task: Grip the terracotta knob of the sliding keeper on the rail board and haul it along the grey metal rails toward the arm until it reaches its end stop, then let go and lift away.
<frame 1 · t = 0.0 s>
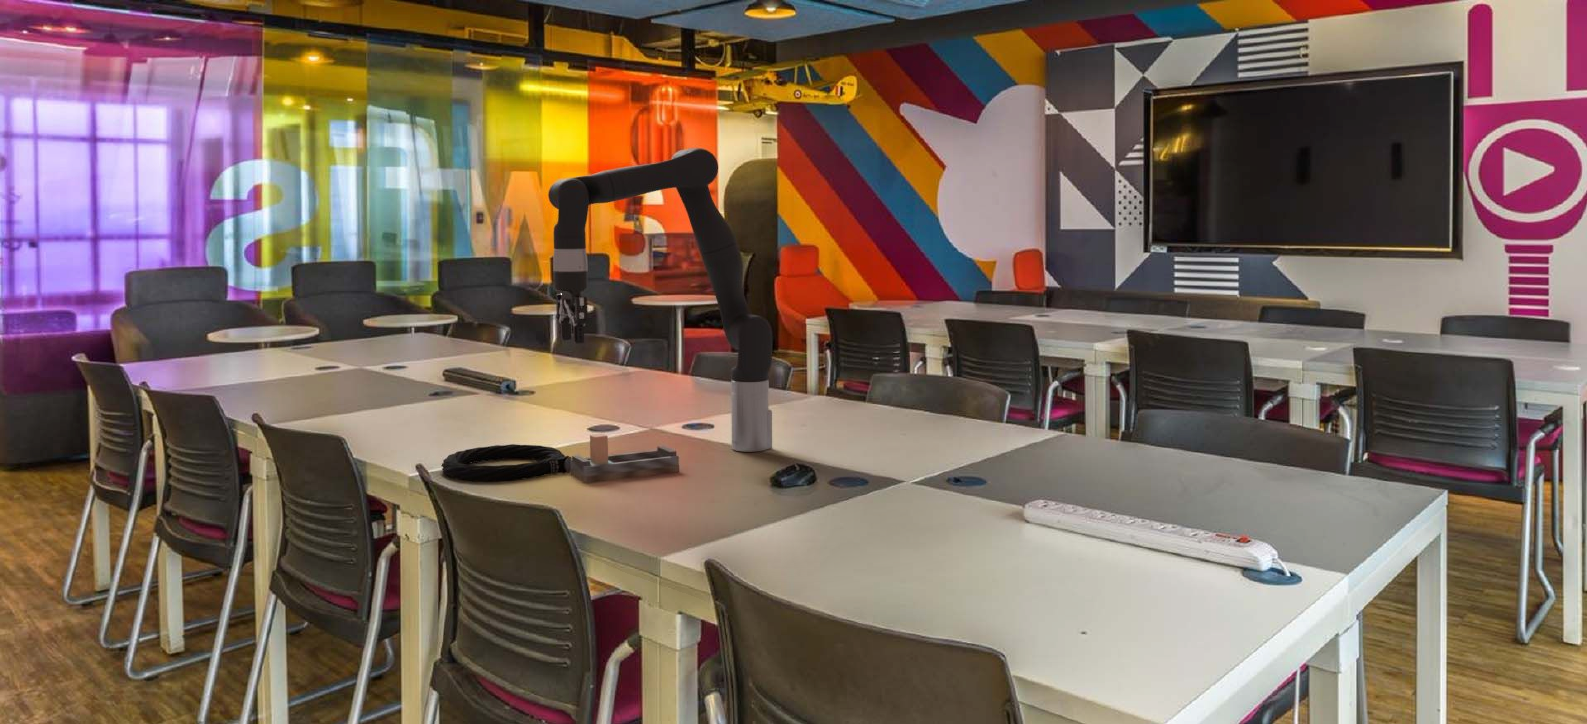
hand: (572, 341, 258), 29 cm above the table, fingers open, 8 cm apart
rail board: (625, 473, 257), on the table
keeper: (599, 452, 253), point 5 cm above the table, slide at 0.0 cm
cable lock: (509, 471, 262), on the table
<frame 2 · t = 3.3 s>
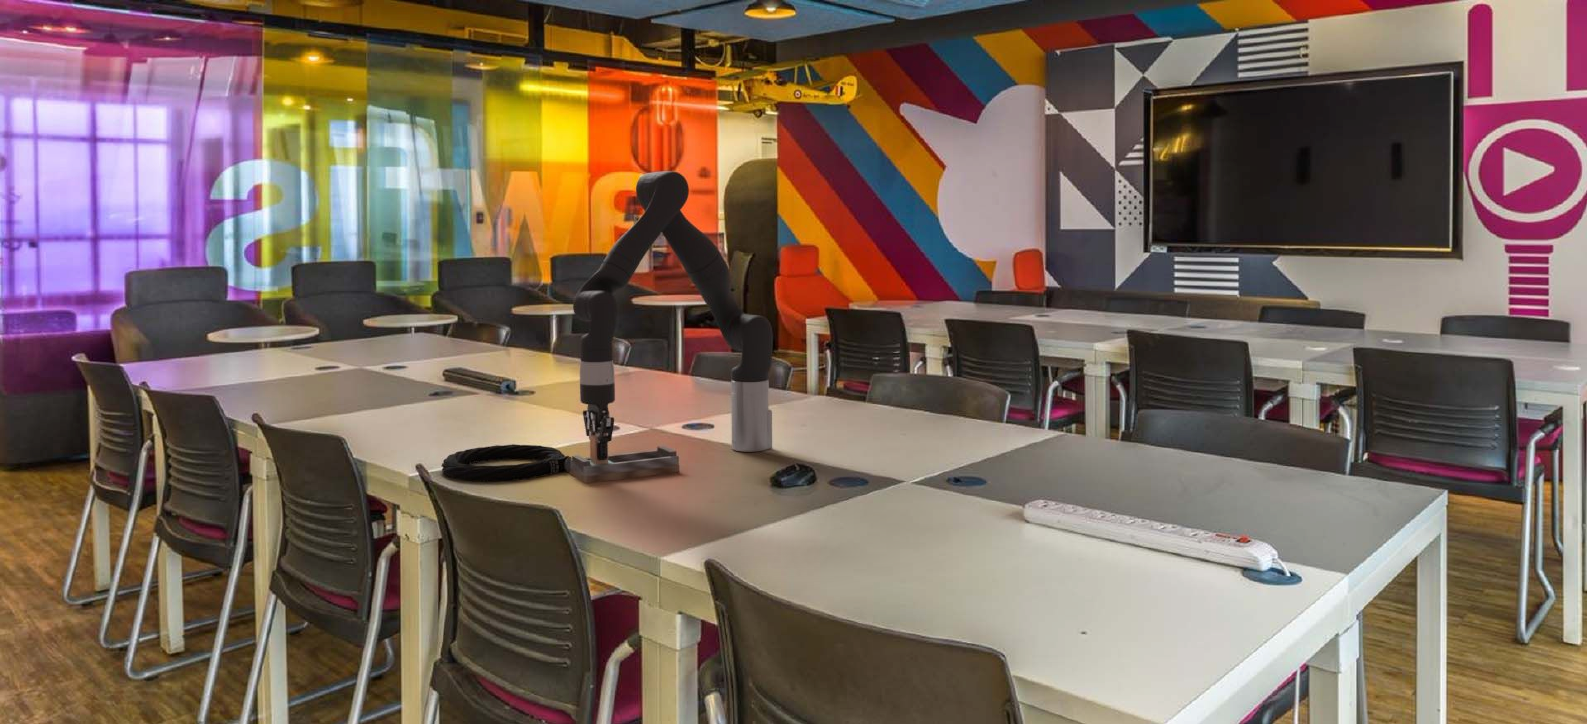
hand: (599, 458, 254), 4 cm above the table, fingers closed on keeper, 3 cm apart
keeper: (599, 452, 253), point 5 cm above the table, slide at 0.0 cm, touching gripper
everything else where it was.
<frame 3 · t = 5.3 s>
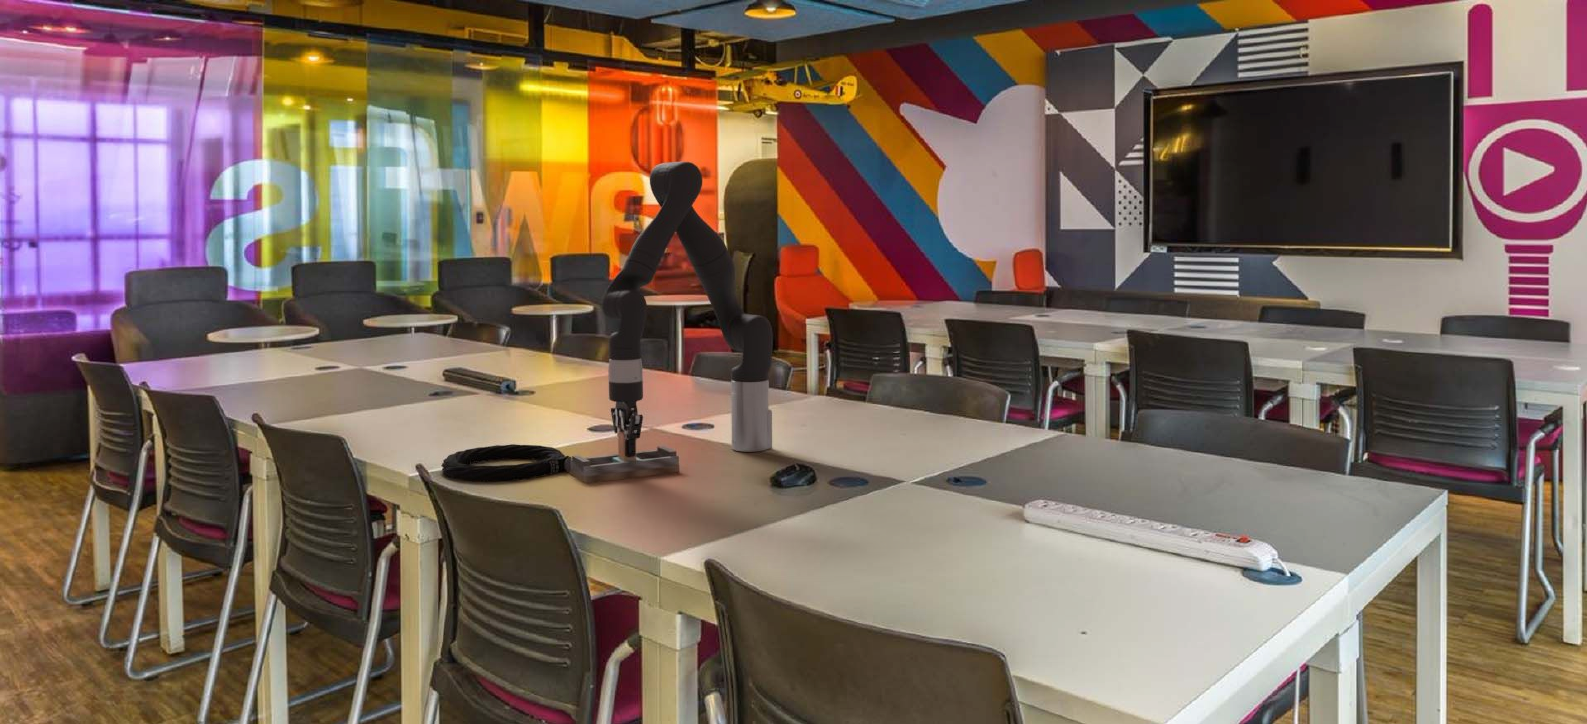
hand: (627, 454, 257), 4 cm above the table, fingers closed on keeper, 3 cm apart
keeper: (627, 449, 257), point 5 cm above the table, slide at 6.6 cm, touching gripper
everything else where it was.
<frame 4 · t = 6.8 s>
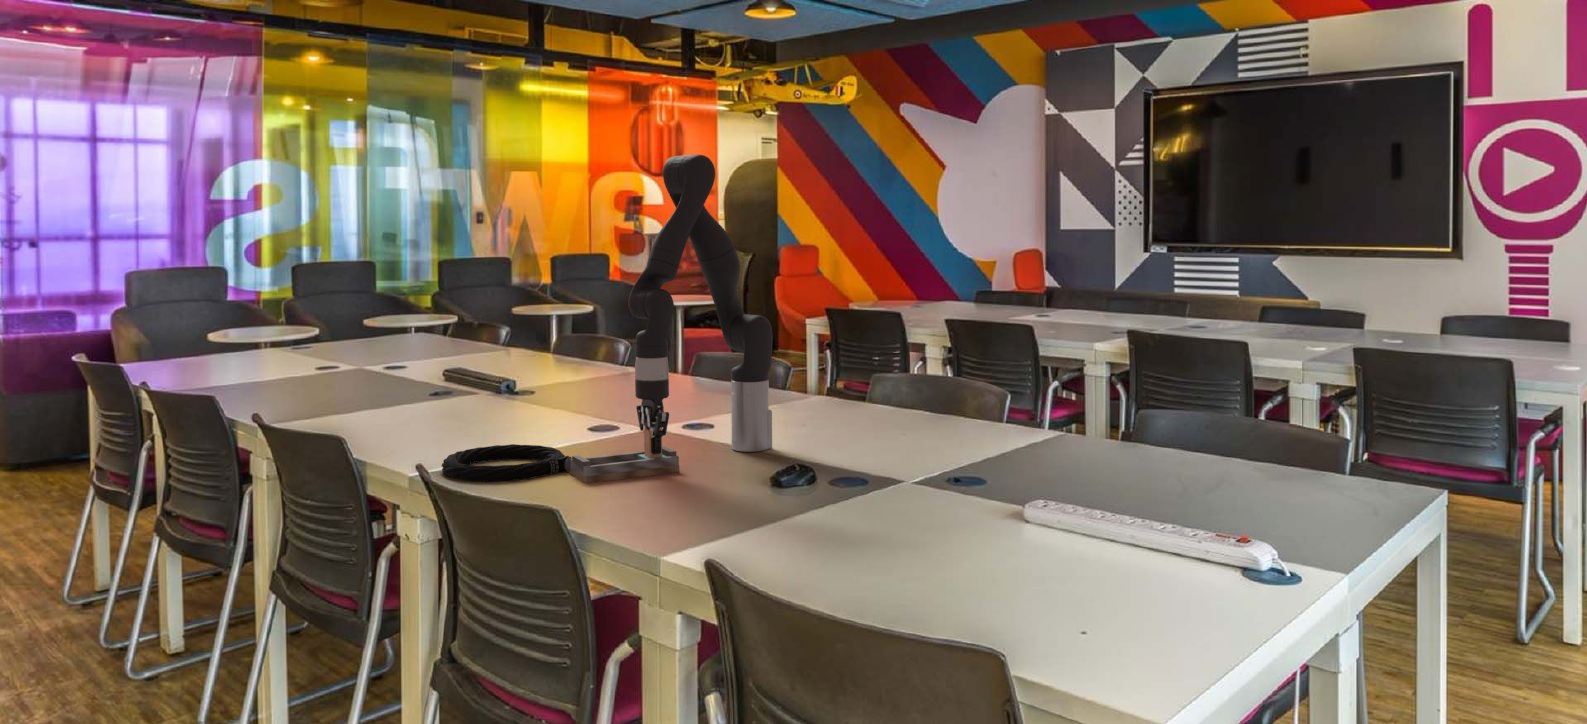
hand: (653, 451, 260), 4 cm above the table, fingers closed on keeper, 3 cm apart
keeper: (653, 446, 260), point 5 cm above the table, slide at 12.9 cm, touching gripper
everything else where it was.
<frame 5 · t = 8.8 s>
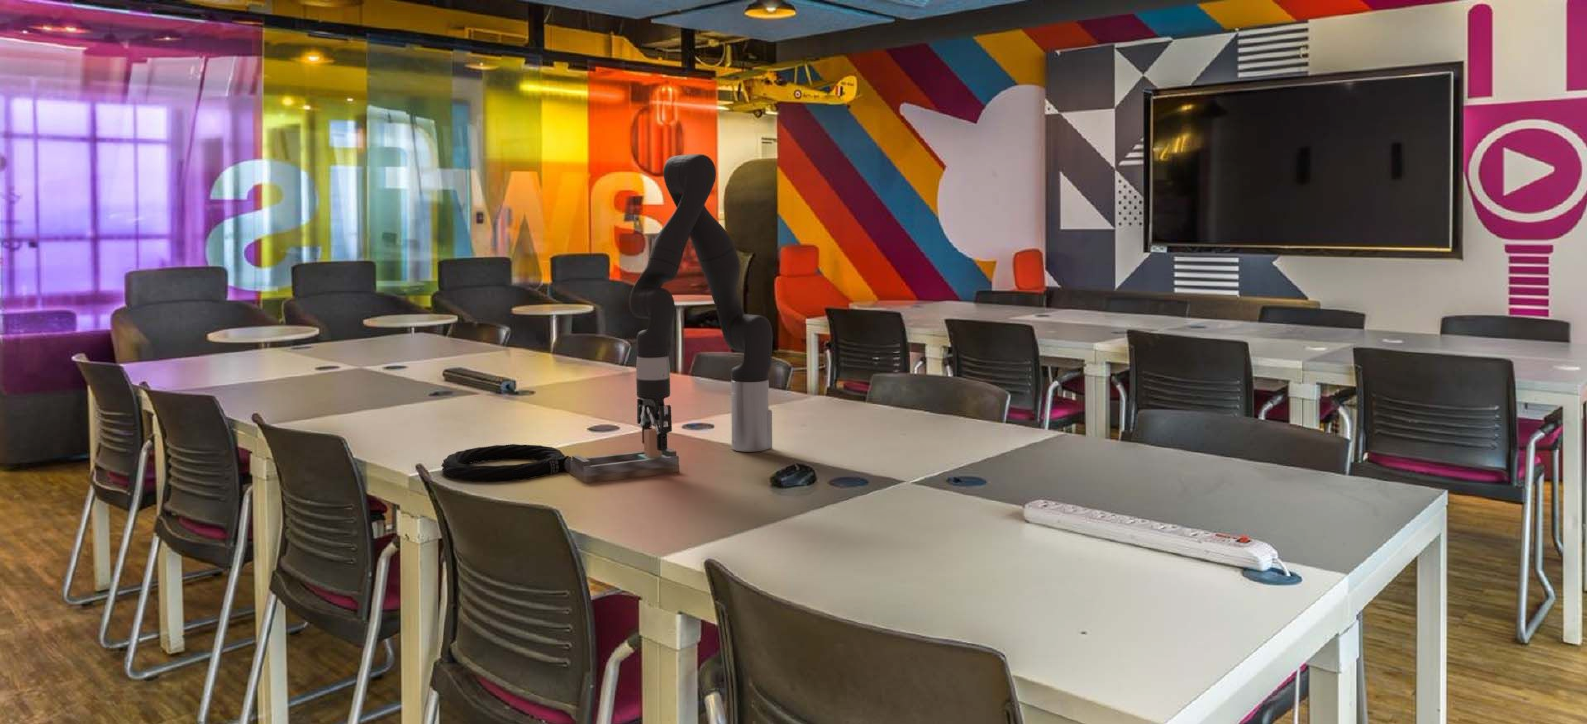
hand: (654, 447, 260), 5 cm above the table, fingers open, 8 cm apart
keeper: (652, 446, 260), point 5 cm above the table, slide at 12.8 cm
everything else where it was.
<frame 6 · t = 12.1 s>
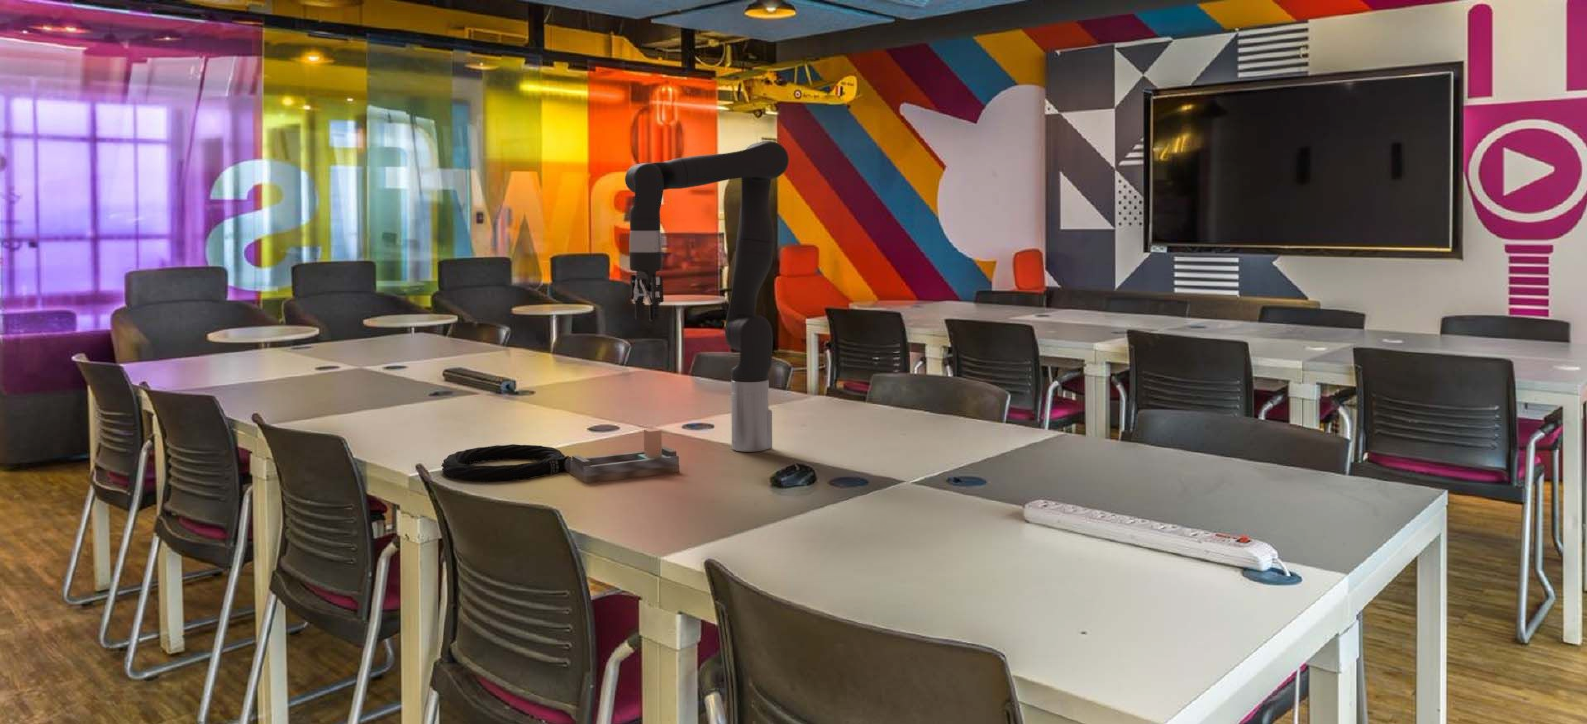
hand: (647, 319, 269), 33 cm above the table, fingers open, 8 cm apart
nothing on the table moved.
at the end: keeper slide at 12.8 cm; the gripper is holding nothing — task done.
